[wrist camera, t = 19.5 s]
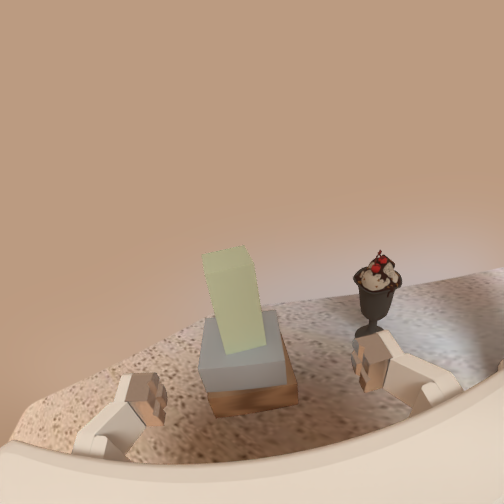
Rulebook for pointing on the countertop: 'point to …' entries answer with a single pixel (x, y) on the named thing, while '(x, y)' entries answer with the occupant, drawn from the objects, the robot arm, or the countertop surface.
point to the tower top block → (242, 360)
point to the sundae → (376, 291)
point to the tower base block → (256, 396)
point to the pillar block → (235, 298)
